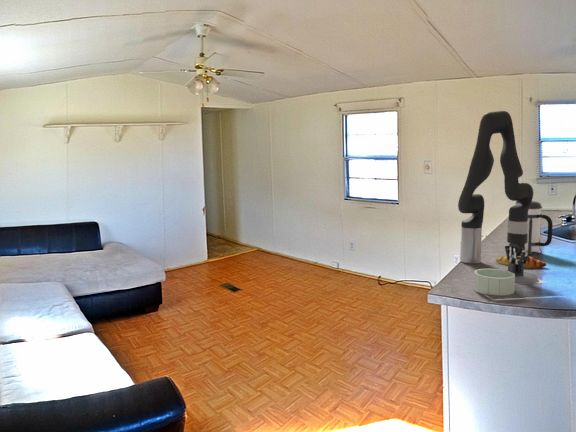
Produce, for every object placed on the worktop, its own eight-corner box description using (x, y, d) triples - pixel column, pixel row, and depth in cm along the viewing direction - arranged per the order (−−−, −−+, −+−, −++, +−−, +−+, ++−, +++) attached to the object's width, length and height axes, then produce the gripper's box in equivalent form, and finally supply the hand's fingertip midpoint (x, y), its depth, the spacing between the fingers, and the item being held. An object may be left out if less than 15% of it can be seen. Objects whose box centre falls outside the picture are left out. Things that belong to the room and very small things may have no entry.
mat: (486, 275, 188) (486, 273, 188) (521, 273, 190) (521, 272, 190) (508, 285, 173) (508, 284, 172) (546, 283, 174) (546, 282, 174)
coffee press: (512, 255, 223) (515, 197, 218) (508, 249, 238) (510, 194, 233) (551, 257, 217) (554, 197, 213) (543, 250, 232) (546, 194, 228)
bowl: (467, 286, 173) (467, 269, 172) (500, 284, 174) (501, 267, 173) (485, 297, 160) (486, 279, 159) (522, 295, 161) (522, 277, 160)
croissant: (493, 271, 206) (492, 259, 202) (498, 258, 213) (496, 245, 209) (545, 277, 194) (544, 263, 190) (547, 262, 200) (547, 249, 196)
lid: (486, 273, 188) (487, 260, 187) (521, 272, 190) (522, 258, 189) (508, 284, 173) (508, 269, 172) (546, 282, 174) (547, 267, 173)
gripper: (499, 229, 185) (497, 268, 187) (519, 234, 171) (517, 277, 173) (516, 228, 186) (514, 267, 188) (537, 234, 172) (535, 276, 174)
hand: (515, 271), depth 181 cm, fingers closed on lid, 3 cm apart
